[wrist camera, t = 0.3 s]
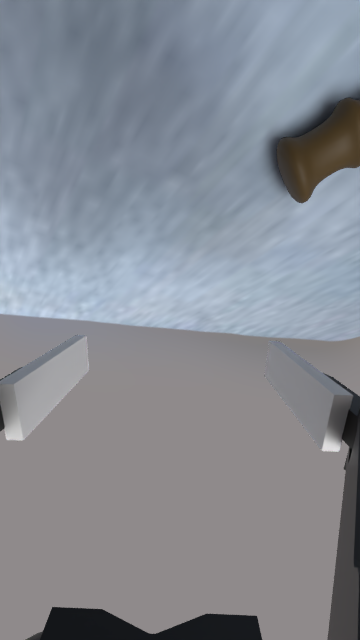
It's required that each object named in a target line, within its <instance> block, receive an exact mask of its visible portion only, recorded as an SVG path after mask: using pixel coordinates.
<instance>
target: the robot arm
mask: <svg viewBox="0 0 360 640" xmlns="http://www.w3.org/2000/svg"><path fill="white" fill-rule="evenodd" d="M88 371H89V360H88V348H87V336H86V335H75V336H74V337H72V338H70V339H69V340H67V341H65V342H64V343H62V344H60V345H59V346H57V347H55V348H54V349H52V350H50V351H49V352H47V353H45V354H44V355H42V356H41V357H39V358H37V359H35V360H34V361H32V362H30V363H29V364H27V365H26V366H24V367H21V368H19V369H17V370H16V371H14V372H12V373H11V374H9V375H7V376H5V378H2V379H0V431H1V430H2V429H4V430H5V435H6V440H24V439H25V438H26V437H27V436H28V435H29V434H30V433H31V432H32V431H33V429H35V428H36V427H37V426H38V424H39V423H40V422H41V421H42V420H43V419H44V418H45V417H46V416H47V415H48V414H49V413H50V412H51V411H52V410H53V409H54V407H55V406H56V405H57V404H58V403H59V402H60V401H61V400H62V399H63V398H64V397H65V396H66V394H68V392H69V391H70V390H71V389H72V388H73V387H74V386H75V385H76V384H77V383H78V382H79V381H80V380H81V379H82V378H83V376H84V375H85V374H86V373H87V372H88ZM264 376H265V377H266V379H267V380H268V381H269V383H270V384H271V385H272V387H273V388H274V389H275V390H276V392H277V393H278V394H279V396H280V397H281V398H282V400H283V401H284V402H285V403H286V405H287V406H288V407H289V409H290V410H291V411H292V413H293V414H294V415H295V417H296V418H297V419H298V421H299V422H300V423H301V424H302V426H303V427H304V428H305V430H306V431H307V432H308V433H309V435H310V436H311V437H312V439H313V440H314V442H315V443H316V444H317V445H318V447H319V448H320V449H321V450H322V451H340V447H341V442H342V439H343V440H344V441H345V443H346V444H347V445H348V446H349V451H348V455H347V458H346V463H345V466H344V469H345V470H346V474H345V483H344V492H343V501H342V511H341V520H340V530H339V539H338V548H337V557H336V566H335V567H336V568H335V576H334V586H333V594H332V604H331V613H330V622H329V633H328V640H360V397H359V396H358V395H357V394H355V393H354V392H353V391H351V390H350V389H347V387H346V386H344V385H343V384H341V383H340V382H339V381H337V380H336V379H334V378H333V377H331V376H328V375H326V374H324V373H322V372H320V371H319V370H318V369H317V368H315V367H314V366H313V365H311V364H310V363H309V362H307V361H306V360H305V359H303V358H302V357H300V356H299V355H298V354H296V353H295V352H294V351H292V350H291V349H290V348H288V347H287V346H286V345H284V344H283V343H282V342H280V341H269V345H268V353H267V361H266V368H265V375H264ZM26 640H262V637H261V633H260V628H259V623H258V619H257V616H246V615H224V614H205V615H202V616H200V617H197V618H195V619H192V620H190V621H187V622H185V623H182V624H180V625H177V626H174V627H172V628H169V629H167V630H164V631H162V632H159V633H156V634H149V633H147V632H145V631H143V630H141V629H139V628H137V627H135V626H133V625H131V624H129V623H127V622H125V621H124V620H122V619H120V618H118V617H116V616H114V615H112V614H110V613H108V612H106V611H105V610H102V609H84V608H60V607H52V610H51V612H50V615H49V617H48V620H47V622H46V625H45V628H44V630H43V632H40V633H37V634H35V635H33V636H32V637H30V638H28V639H26Z"/></svg>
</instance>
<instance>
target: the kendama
mask: <svg viewBox="0 0 360 640" xmlns="http://www.w3.org/2000/svg"><path fill="white" fill-rule="evenodd" d="M277 162H278V166H279V171H280V173H281V176H282V179H283V181H284V184H285V186H286V188H287V190H288V192H289V193H290V195H291V197H292V198H293V199H294V200H296V201H297V202H298V203H304V202H306V201H307V200H308V199H309V198H310V197H311V195H312V192H313V190H314V188H315V187H316V186H317V184H319V183H320V182H321V181H322V180H323V179H325V178H326V177H328V176H329V175H331V174H332V173H334V172H336V171H338V170H340V169H343V168H357V167H359V166H360V100H354V99H352V98H346V99H343V100H341V101H340V102H339V103H338V104H337V106H336V108H335V109H334V111H333V113H332V114H331V116H330V117H329V118H328V119H327V120H326V121H325V122H323V123H322V124H321V125H319V126H318V127H316V128H315V129H313V130H311V131H310V132H308V133H306V134H304V135H302V136H299V137H295V138H293V137H284V138H282V139H281V140H280V141H279V143H278V146H277Z"/></svg>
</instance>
